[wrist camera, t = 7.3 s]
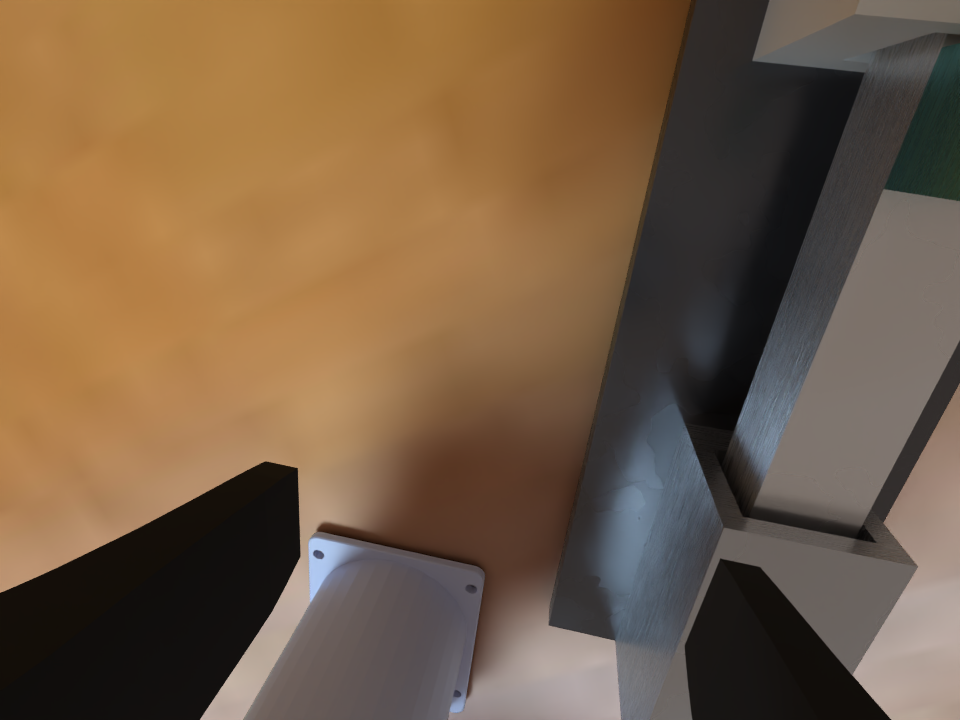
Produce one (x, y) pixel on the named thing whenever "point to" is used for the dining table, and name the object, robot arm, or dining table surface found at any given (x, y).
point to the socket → (847, 29)
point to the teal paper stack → (861, 304)
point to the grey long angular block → (716, 375)
